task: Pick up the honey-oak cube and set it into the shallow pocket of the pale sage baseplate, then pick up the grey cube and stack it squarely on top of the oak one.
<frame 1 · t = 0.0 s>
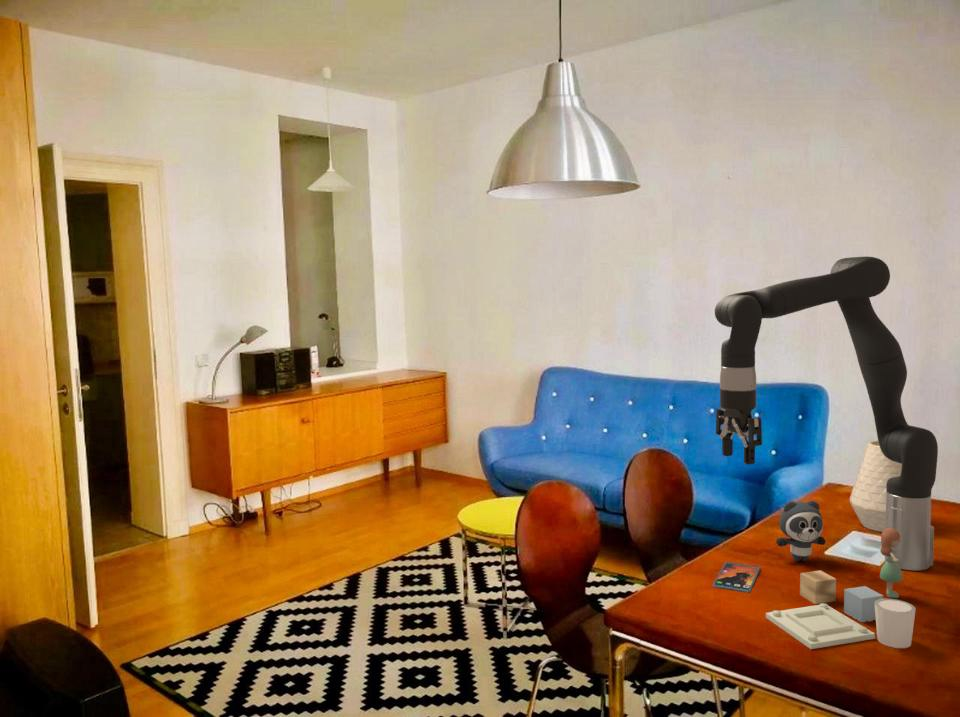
hand: (738, 459, 166), 29 cm above the table, fingers open, 8 cm apart
oak brick: (817, 598, 163), on the table
vase: (884, 527, 206), on the table
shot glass: (894, 642, 143), on the table
toy 2: (801, 562, 183), on the table
toy: (890, 597, 162), on the table
baseplate: (818, 627, 149), on the table
smartphone: (737, 580, 175), on the table
grey cube: (863, 616, 154), on the table
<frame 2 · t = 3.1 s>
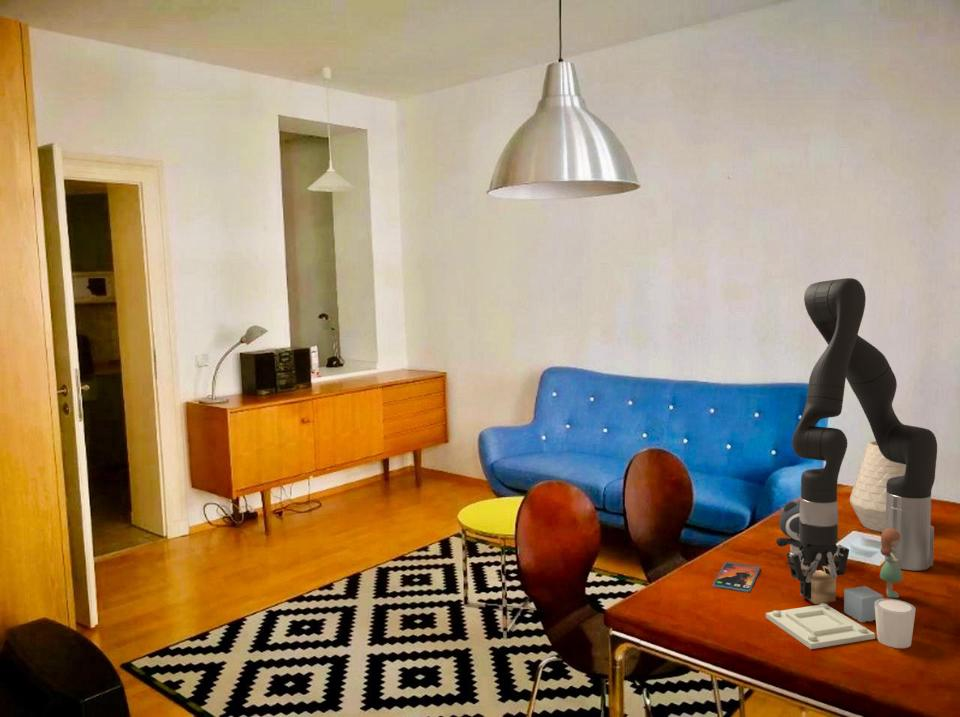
hand: (817, 595, 163), 0 cm above the table, fingers closed on oak brick, 5 cm apart
oak brick: (817, 597, 163), on the table, touching gripper
everything else where it was.
when the fingers open (3 cm above the table, at t = 8.4 s): oak brick drops 1 cm, resting on baseplate.
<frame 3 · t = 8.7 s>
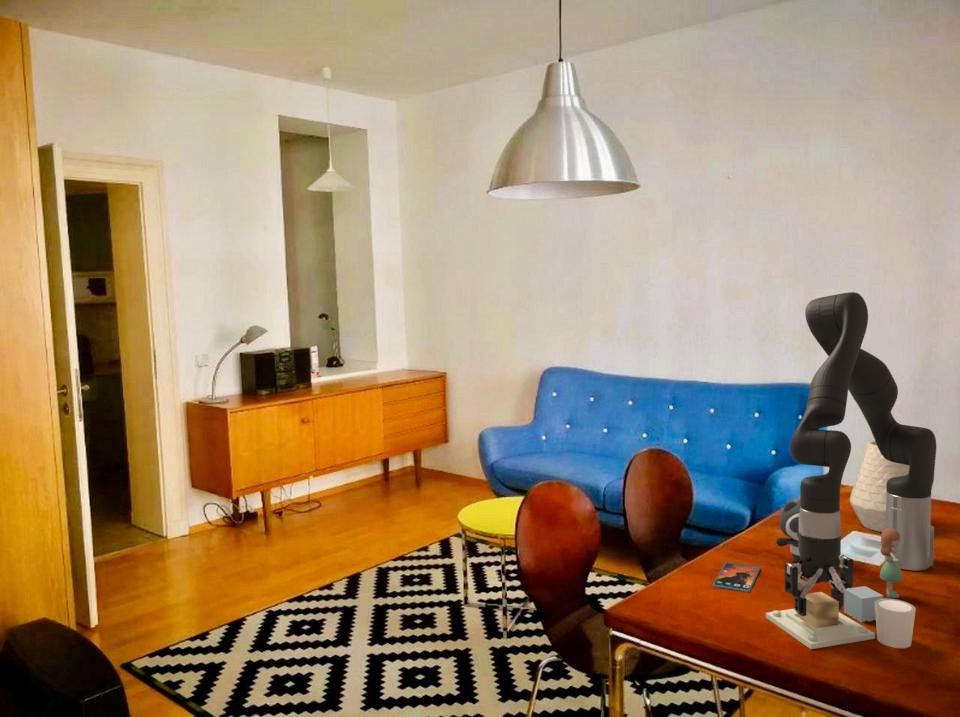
hand: (818, 611, 149), 3 cm above the table, fingers open, 7 cm apart
oak brick: (818, 622, 149), point 1 cm above the table, touching baseplate
everything else where it was.
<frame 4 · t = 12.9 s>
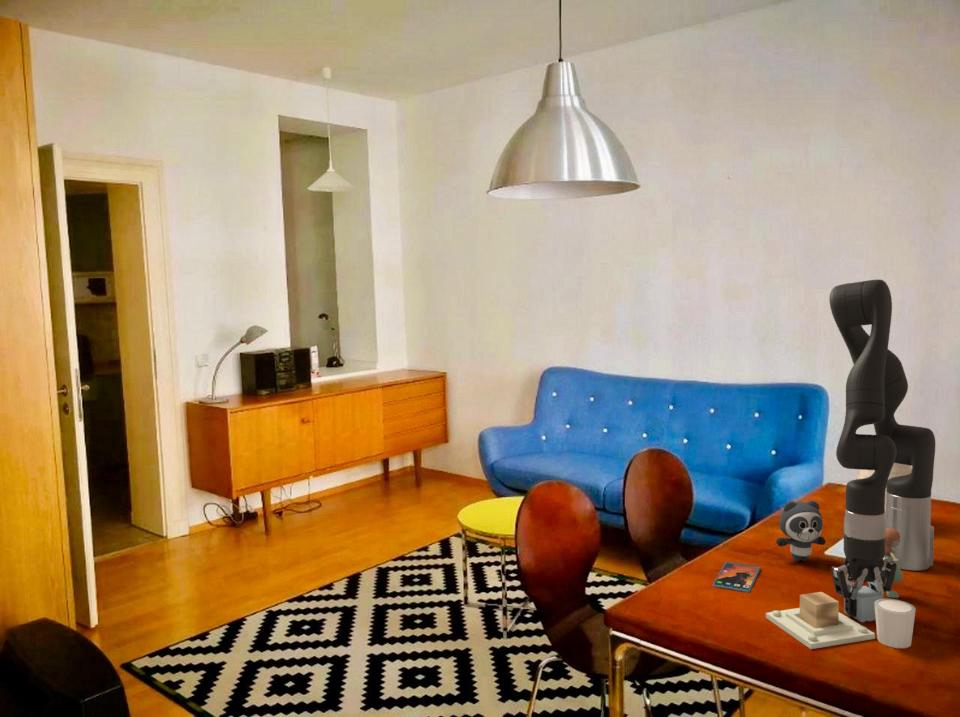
hand: (863, 613, 154), 0 cm above the table, fingers closed on grey cube, 5 cm apart
grey cube: (863, 615, 154), on the table, touching gripper
everything else where it was.
when the fingers open (8 cm above the table, at t = 17.3 s): grey cube drops 1 cm, resting on oak brick.
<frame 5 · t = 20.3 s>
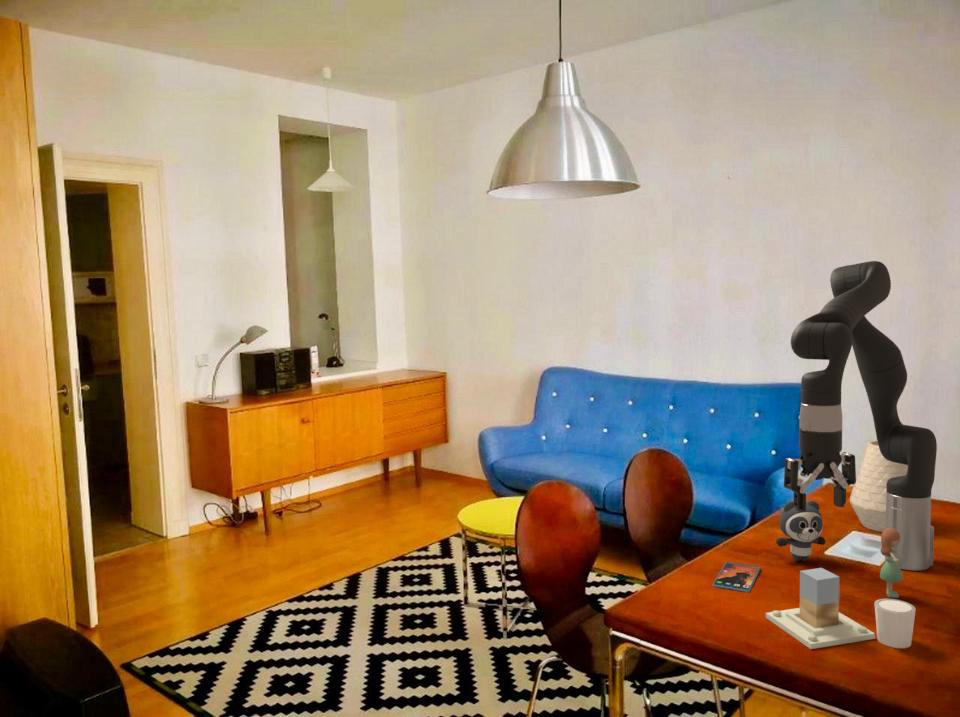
hand: (819, 508, 147), 24 cm above the table, fingers open, 8 cm apart
oak brick: (818, 622, 149), point 1 cm above the table, touching baseplate, grey cube
grey cube: (819, 598, 148), point 6 cm above the table, touching oak brick
everything else where it was.
at the end: oak brick 0.1 cm off-centre on the baseplate, point 1.0 cm above the baseplate's base; grey cube 0.1 cm off-centre on the baseplate, point 6.0 cm above the baseplate's base; grey cube tilted 0° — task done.
